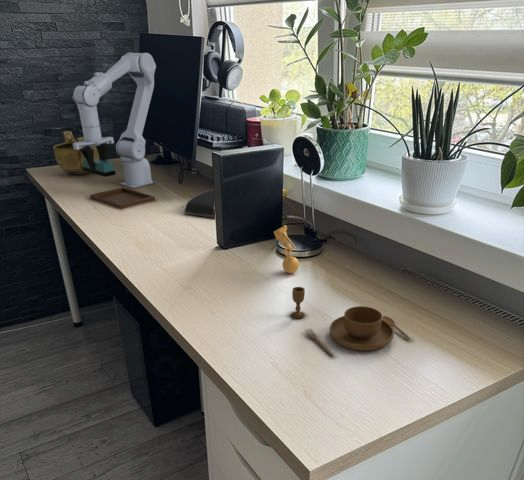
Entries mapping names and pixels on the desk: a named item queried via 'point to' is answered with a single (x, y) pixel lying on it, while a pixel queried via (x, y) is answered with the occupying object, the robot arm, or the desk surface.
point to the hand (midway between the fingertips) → (98, 168)
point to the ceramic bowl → (71, 154)
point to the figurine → (289, 262)
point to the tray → (122, 197)
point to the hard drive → (201, 205)
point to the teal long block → (100, 167)
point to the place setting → (354, 326)
